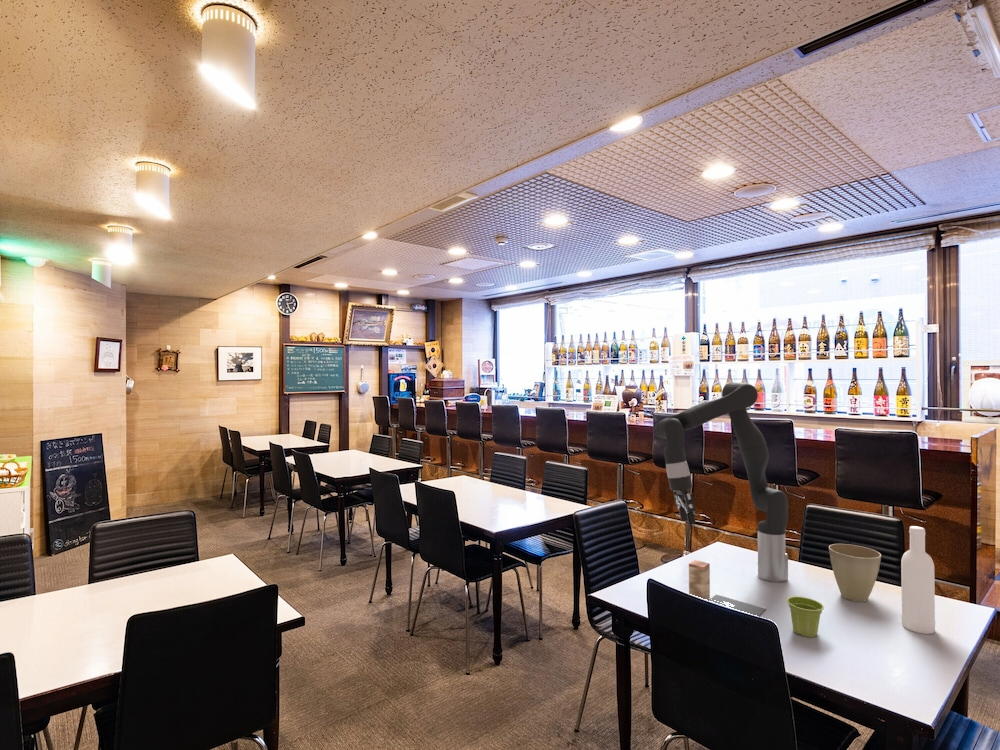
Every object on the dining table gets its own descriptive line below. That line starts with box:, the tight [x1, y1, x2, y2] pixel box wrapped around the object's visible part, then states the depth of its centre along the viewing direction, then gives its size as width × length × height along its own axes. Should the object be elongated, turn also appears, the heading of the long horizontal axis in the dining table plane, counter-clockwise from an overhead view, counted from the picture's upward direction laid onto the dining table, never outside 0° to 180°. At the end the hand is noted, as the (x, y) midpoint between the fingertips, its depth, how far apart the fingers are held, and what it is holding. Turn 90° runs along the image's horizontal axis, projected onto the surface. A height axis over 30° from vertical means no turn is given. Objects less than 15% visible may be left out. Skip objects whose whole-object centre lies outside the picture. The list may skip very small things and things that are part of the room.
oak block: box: [688, 559, 711, 600], centre depth 179 cm, size 5×5×12 cm
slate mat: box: [709, 594, 767, 617], centre depth 171 cm, size 16×13×1 cm
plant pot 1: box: [786, 596, 825, 638], centre depth 155 cm, size 9×9×9 cm
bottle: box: [900, 525, 936, 635], centre depth 157 cm, size 8×8×30 cm
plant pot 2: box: [828, 543, 882, 603], centre depth 179 cm, size 15×15×16 cm
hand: (688, 522), depth 182 cm, fingers open, 8 cm apart
